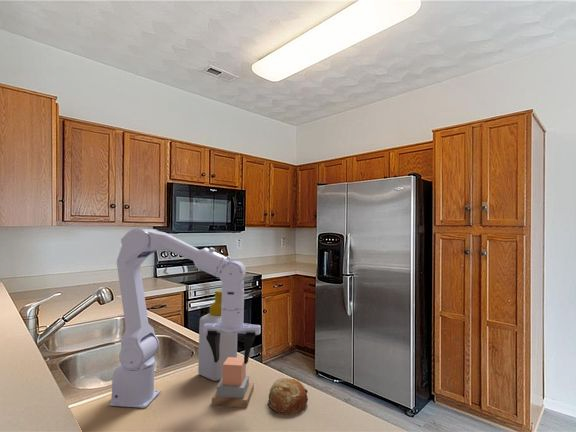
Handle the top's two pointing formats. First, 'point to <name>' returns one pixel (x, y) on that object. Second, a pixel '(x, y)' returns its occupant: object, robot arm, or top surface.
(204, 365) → the soap bottle
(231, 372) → the terracotta cube
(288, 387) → the bread roll
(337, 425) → the top surface
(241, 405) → the walnut slab
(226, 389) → the grey slab
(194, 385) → the top surface
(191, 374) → the top surface
